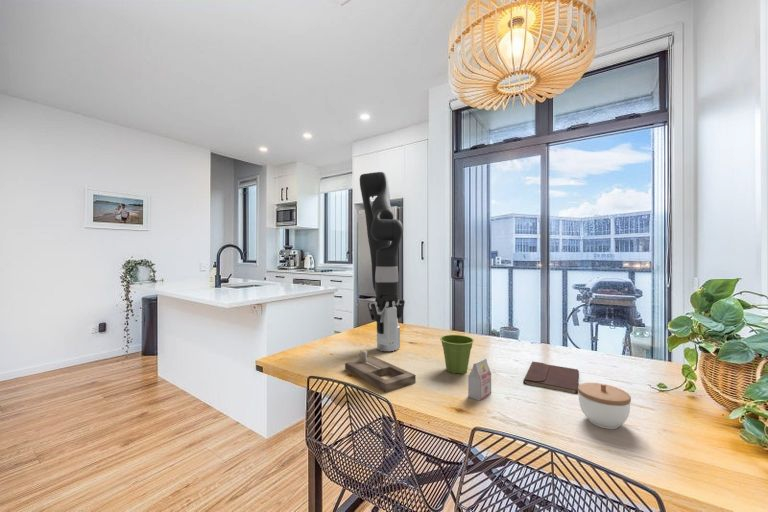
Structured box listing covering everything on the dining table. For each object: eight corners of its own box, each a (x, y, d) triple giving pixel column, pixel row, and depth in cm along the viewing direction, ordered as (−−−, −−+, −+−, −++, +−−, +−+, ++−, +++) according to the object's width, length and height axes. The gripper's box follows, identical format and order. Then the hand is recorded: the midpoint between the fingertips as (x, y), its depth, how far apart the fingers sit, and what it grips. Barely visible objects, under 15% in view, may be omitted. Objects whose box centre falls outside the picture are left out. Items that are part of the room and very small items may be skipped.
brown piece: (372, 362, 123) (372, 346, 123) (415, 382, 104) (415, 364, 104) (345, 369, 116) (345, 352, 116) (386, 392, 97) (385, 372, 97)
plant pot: (435, 373, 112) (435, 340, 112) (445, 362, 123) (445, 333, 122) (469, 379, 107) (469, 345, 106) (477, 367, 117) (477, 336, 117)
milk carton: (468, 396, 94) (468, 362, 94) (479, 389, 99) (480, 356, 99) (479, 400, 91) (479, 365, 91) (491, 393, 96) (491, 359, 96)
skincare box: (398, 344, 105) (398, 307, 105) (387, 347, 102) (387, 308, 102) (386, 340, 110) (386, 305, 109) (375, 342, 107) (375, 306, 107)
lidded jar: (608, 411, 85) (608, 375, 85) (642, 434, 74) (642, 393, 74) (568, 412, 85) (568, 376, 84) (597, 435, 74) (597, 394, 74)
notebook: (578, 374, 112) (578, 368, 112) (577, 395, 95) (577, 388, 95) (531, 366, 120) (531, 360, 120) (523, 384, 103) (523, 378, 103)
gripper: (396, 278, 113) (396, 327, 113) (362, 280, 104) (362, 333, 104) (410, 280, 107) (410, 331, 107) (375, 282, 98) (375, 338, 98)
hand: (386, 332), depth 106 cm, fingers closed on skincare box, 4 cm apart
